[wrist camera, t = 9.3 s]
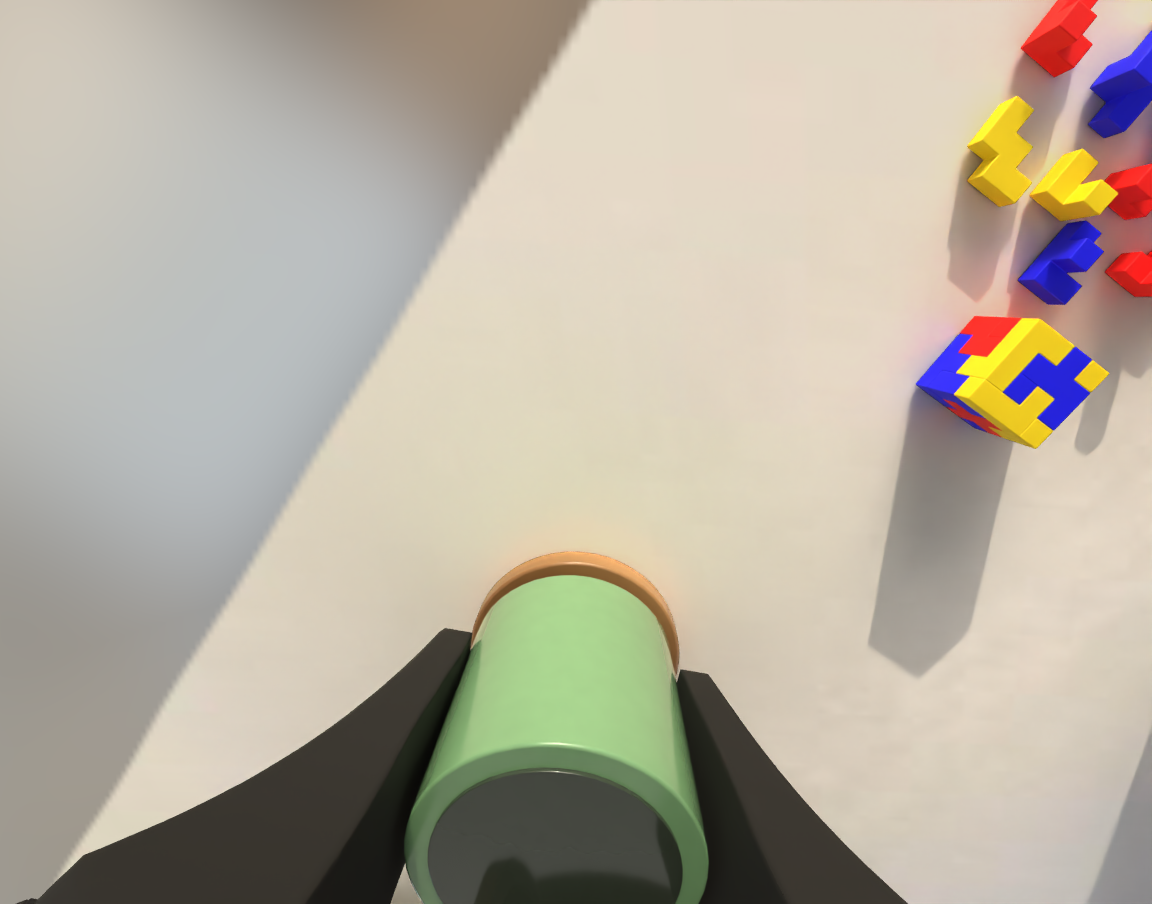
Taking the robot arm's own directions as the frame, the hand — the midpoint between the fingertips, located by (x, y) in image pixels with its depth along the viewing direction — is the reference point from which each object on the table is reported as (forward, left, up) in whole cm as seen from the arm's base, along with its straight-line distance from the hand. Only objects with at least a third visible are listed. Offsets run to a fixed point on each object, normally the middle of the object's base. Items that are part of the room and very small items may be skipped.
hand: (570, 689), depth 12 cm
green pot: (0, 0, -1) cm, 1 cm away
